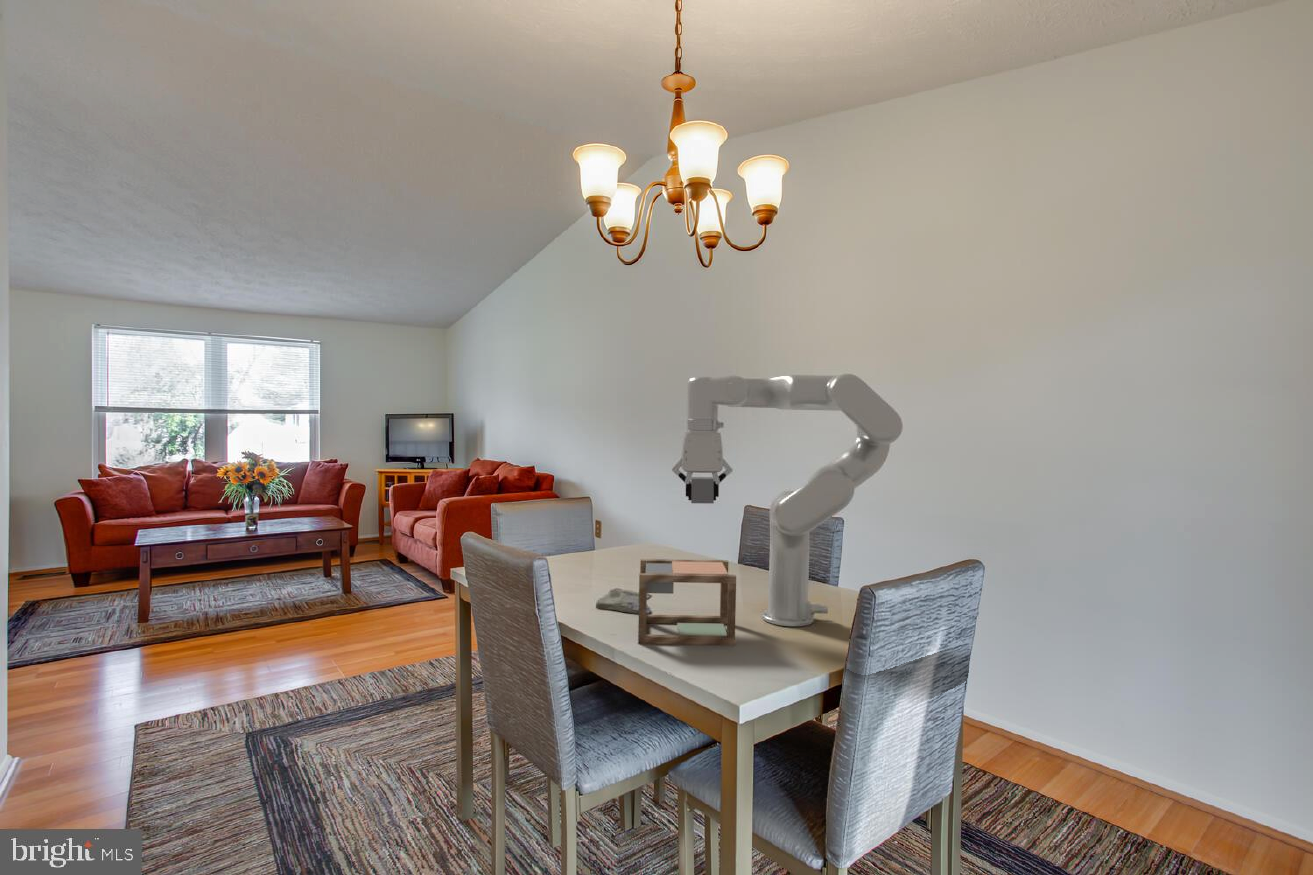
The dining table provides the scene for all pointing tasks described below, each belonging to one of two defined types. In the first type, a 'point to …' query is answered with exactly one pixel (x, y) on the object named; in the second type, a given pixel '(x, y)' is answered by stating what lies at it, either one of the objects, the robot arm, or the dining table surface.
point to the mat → (701, 629)
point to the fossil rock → (621, 601)
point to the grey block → (702, 490)
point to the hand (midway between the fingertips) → (702, 499)
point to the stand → (725, 615)
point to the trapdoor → (680, 572)
